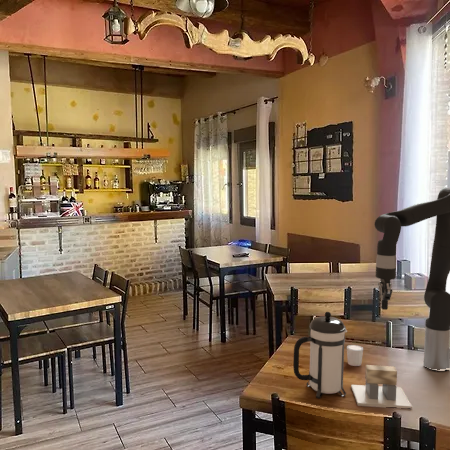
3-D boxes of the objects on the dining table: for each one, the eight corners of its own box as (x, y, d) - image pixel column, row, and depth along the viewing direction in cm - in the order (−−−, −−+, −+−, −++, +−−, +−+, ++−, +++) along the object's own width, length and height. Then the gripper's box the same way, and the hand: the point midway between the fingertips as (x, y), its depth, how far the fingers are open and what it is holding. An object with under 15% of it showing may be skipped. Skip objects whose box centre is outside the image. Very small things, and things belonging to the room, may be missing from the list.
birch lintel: (393, 380, 159) (394, 366, 158) (396, 385, 155) (397, 371, 154) (365, 378, 160) (365, 364, 160) (367, 382, 156) (367, 369, 156)
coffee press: (314, 377, 174) (316, 303, 171) (353, 389, 164) (355, 311, 161) (291, 393, 161) (293, 313, 158) (332, 407, 151) (334, 322, 148)
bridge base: (400, 390, 164) (401, 374, 163) (412, 409, 150) (412, 392, 150) (351, 387, 166) (351, 371, 166) (357, 405, 152) (358, 389, 152)
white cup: (361, 360, 191) (361, 344, 191) (364, 367, 185) (364, 350, 184) (344, 359, 192) (345, 344, 191) (347, 366, 185) (348, 350, 185)
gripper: (400, 269, 166) (398, 314, 168) (391, 263, 179) (389, 304, 181) (379, 269, 167) (378, 313, 169) (372, 262, 180) (371, 304, 182)
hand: (384, 309), depth 175 cm, fingers closed
